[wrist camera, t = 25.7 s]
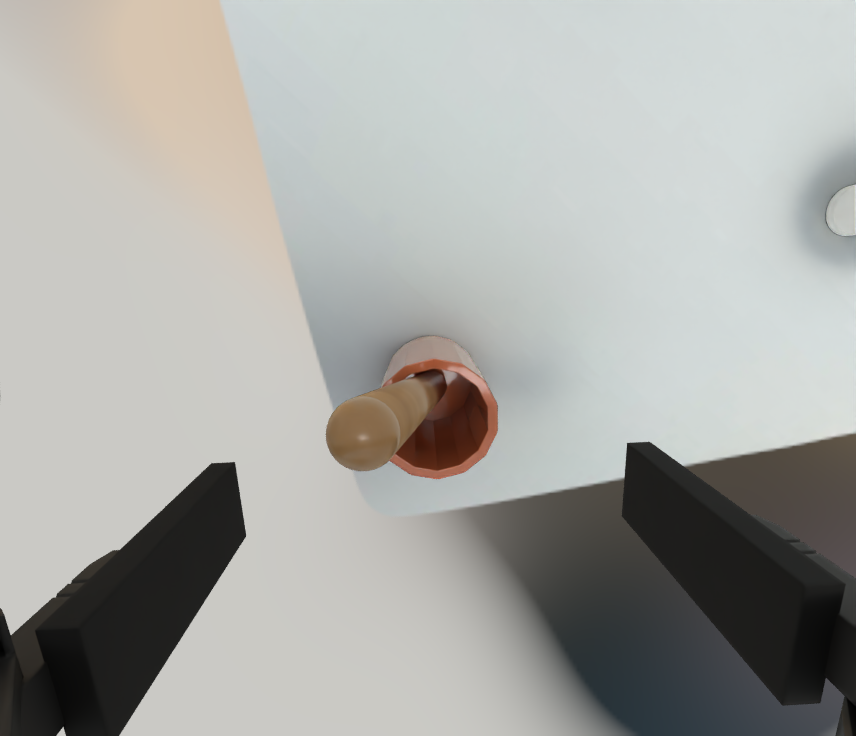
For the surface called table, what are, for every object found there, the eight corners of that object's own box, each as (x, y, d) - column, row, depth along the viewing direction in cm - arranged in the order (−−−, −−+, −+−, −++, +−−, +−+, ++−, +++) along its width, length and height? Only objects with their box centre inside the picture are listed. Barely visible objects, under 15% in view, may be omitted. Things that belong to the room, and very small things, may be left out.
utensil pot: (388, 426, 29) (377, 482, 22) (383, 336, 28) (368, 361, 20) (477, 422, 29) (498, 476, 22) (476, 332, 28) (497, 355, 20)
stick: (421, 401, 28) (320, 485, 11) (416, 372, 28) (308, 406, 10) (450, 397, 28) (398, 476, 10) (445, 368, 28) (386, 395, 10)
